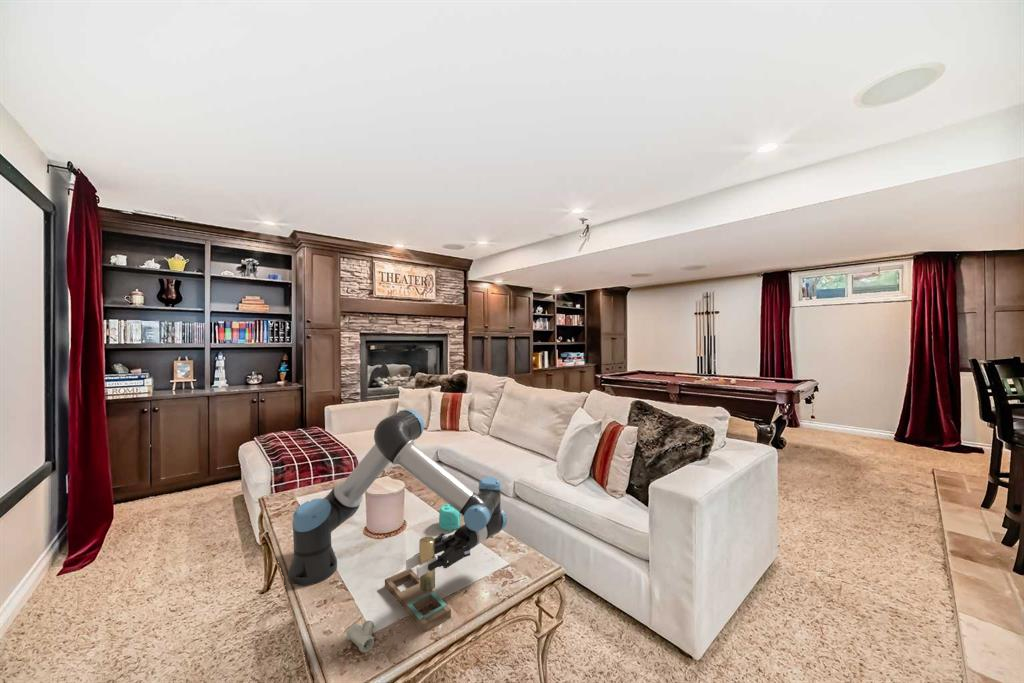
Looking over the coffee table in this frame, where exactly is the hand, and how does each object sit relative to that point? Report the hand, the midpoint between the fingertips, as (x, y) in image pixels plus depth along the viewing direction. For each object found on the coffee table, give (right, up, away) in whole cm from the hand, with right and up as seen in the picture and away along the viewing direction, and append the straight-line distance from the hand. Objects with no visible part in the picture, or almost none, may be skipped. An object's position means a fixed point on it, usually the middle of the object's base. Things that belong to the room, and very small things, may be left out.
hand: (412, 569), depth 113 cm
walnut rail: (-1, -16, +10) cm, 19 cm away
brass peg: (+3, -8, +5) cm, 10 cm away
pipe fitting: (-11, -17, -5) cm, 21 cm away
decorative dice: (+2, -14, +57) cm, 58 cm away
